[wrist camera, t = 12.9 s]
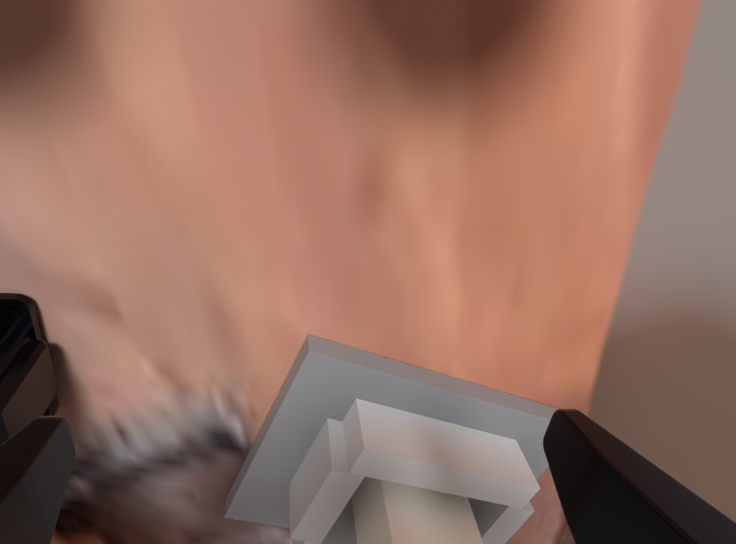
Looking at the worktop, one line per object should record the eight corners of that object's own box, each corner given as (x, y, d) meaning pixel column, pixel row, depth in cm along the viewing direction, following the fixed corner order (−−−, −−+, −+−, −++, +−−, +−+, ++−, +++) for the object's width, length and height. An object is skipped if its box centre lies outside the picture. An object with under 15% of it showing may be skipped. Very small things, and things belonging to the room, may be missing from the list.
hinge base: (225, 498, 28) (216, 574, 24) (308, 334, 23) (311, 399, 19) (463, 538, 33) (485, 607, 29) (570, 412, 28) (612, 475, 24)
